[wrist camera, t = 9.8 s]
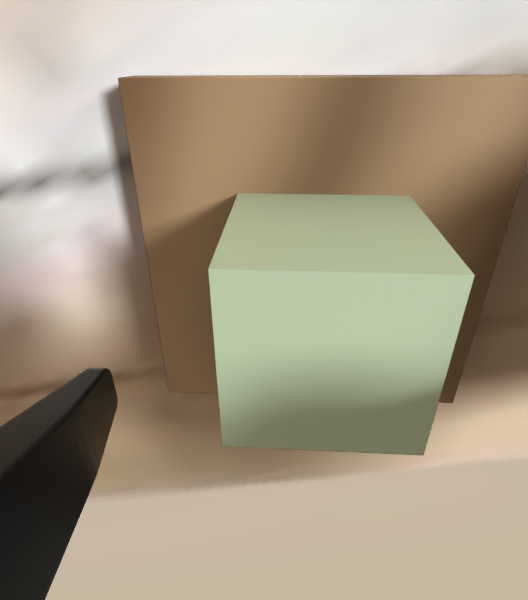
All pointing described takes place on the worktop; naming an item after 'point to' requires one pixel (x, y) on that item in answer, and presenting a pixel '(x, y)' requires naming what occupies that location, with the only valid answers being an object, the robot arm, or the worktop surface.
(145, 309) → the worktop surface
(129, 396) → the worktop surface
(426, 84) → the walnut board
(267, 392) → the sage cube
